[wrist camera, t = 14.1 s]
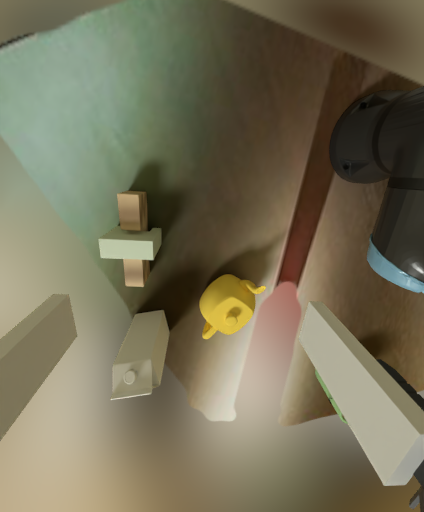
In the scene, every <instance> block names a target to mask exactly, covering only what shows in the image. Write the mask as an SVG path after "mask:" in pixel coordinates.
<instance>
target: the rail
mask: <svg viewBox="0 0 424 512" xmlns="http://www.w3.org/2000/svg"><path fill="white" fill-rule="evenodd" d="M117 195H118V206H119V217H120V228H121V229H123V230H129V231H148V217H147V194H146V192H143V191H125V192H122V193H118V194H117ZM123 260H124V271H125V282H126V286H140V287H144V285H145V283H146V280H147V278H148V276H149V274H150V264H149V260H139V259H123Z"/></svg>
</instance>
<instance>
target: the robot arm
mask: <svg viewBox="0 0 424 512" xmlns="http://www.w3.org/2000/svg"><path fill="white" fill-rule="evenodd" d="M329 152H330V160H331V163H332V166H333V168H334V170H335V171H336V173H337V174H338V175H339V176H340V177H341V178H343V179H344V180H346V181H349V182H352V183H362V184H367V183H374V182H378V181H381V180H384V179H387V178H390V179H389V182H388V186H387V188H386V191H385V194H384V198H383V201H382V204H381V207H380V210H379V213H378V217H377V220H376V223H375V226H374V229H373V233H372V234H371V235H370V239H369V240H370V245H369V249H368V252H367V260H368V262H369V263H370V266H371V267H372V268H373V269H374V271H376V272H377V273H378V274H379V275H381V276H382V277H384V278H385V279H387V280H389V281H391V282H392V283H394V284H396V285H399V286H401V287H403V288H406V289H408V290H411V291H414V292H417V293H419V292H423V293H424V86H423V87H420V88H417V89H415V90H412V91H403V90H383V91H378V92H375V93H372V94H370V95H368V96H366V97H363V98H361V99H359V100H358V101H356V102H355V103H354V104H352V105H351V106H350V107H349V108H348V109H347V110H346V111H345V112H344V113H343V115H342V116H341V117H340V119H339V120H338V122H337V124H336V126H335V128H334V130H333V133H332V136H331V140H330V150H329ZM76 337H77V332H76V327H75V323H74V318H73V313H72V309H71V303H70V298H69V295H65V294H53V295H52V296H51V297H49V298H48V299H47V300H46V301H45V302H43V303H42V304H41V305H40V306H39V307H38V308H37V309H35V310H34V311H33V312H32V313H31V314H30V315H28V316H27V317H26V318H25V319H24V320H22V321H21V322H20V323H19V324H18V325H17V326H15V327H14V328H13V329H12V330H11V331H10V332H8V333H7V334H6V335H5V336H4V337H2V338H1V339H0V441H1V439H2V438H3V436H4V435H5V434H6V432H7V431H8V430H9V428H10V427H11V426H12V424H13V423H14V422H15V420H16V419H17V417H18V416H19V415H20V413H21V412H22V410H23V409H24V408H25V407H26V405H27V404H28V402H29V401H30V400H31V398H32V397H33V396H34V394H35V393H36V392H37V390H38V389H39V387H40V386H41V385H42V383H43V382H44V381H45V379H46V378H47V377H48V375H49V374H50V372H51V371H52V370H53V368H54V367H55V366H56V364H57V363H58V362H59V360H60V359H61V358H62V356H63V355H64V353H65V352H66V351H67V349H68V348H69V347H70V345H71V344H72V343H73V341H74V340H75V338H76ZM299 341H300V343H301V344H302V346H303V348H304V349H305V351H306V353H307V354H308V356H309V358H310V360H311V361H312V363H313V365H314V366H315V368H316V370H317V372H318V373H319V375H320V377H321V378H322V380H323V382H324V383H325V385H326V387H327V389H328V390H329V392H330V394H331V395H332V397H333V399H334V401H335V402H336V404H337V406H338V407H339V409H340V411H341V413H342V414H343V416H344V418H345V419H346V421H347V423H348V424H349V426H350V428H351V430H352V431H353V433H354V435H355V436H356V438H357V440H358V442H359V443H360V445H361V447H362V448H363V450H364V452H365V454H366V455H367V457H368V459H369V460H370V462H371V464H372V465H373V467H374V469H375V471H376V472H377V474H378V476H379V477H380V479H381V481H382V482H383V484H384V485H385V486H389V485H406V484H407V482H408V481H409V480H410V479H411V477H412V476H413V475H414V476H415V477H416V479H417V480H418V481H419V483H420V484H421V487H420V488H419V490H418V491H417V492H416V493H415V494H414V496H413V497H412V498H411V499H410V504H409V507H411V508H412V509H414V508H415V507H416V506H417V505H418V503H419V502H420V509H421V512H424V399H423V398H422V397H421V396H420V395H419V394H417V392H416V390H415V389H414V388H413V387H412V386H411V385H410V384H407V381H406V380H405V379H404V378H403V377H402V376H401V375H400V374H399V373H398V372H397V371H396V370H395V369H393V368H392V367H391V366H389V365H388V364H386V363H385V362H384V361H382V360H376V359H375V358H374V357H373V356H372V355H371V354H370V353H369V352H368V351H367V350H366V349H365V348H364V347H363V346H362V344H361V343H360V342H359V341H358V340H357V339H356V338H355V337H354V336H353V335H352V334H351V333H350V332H349V330H348V329H347V328H346V327H345V326H344V325H343V324H342V323H341V322H340V321H339V320H338V319H337V318H336V316H335V315H334V314H333V313H332V312H331V311H330V310H329V309H328V308H327V307H326V306H325V305H324V304H323V302H312V301H309V303H308V307H307V311H306V314H305V318H304V321H303V325H302V328H301V332H300V336H299Z"/></svg>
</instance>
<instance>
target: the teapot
mask: <svg viewBox="0 0 424 512" xmlns="http://www.w3.org/2000/svg"><path fill="white" fill-rule="evenodd" d="M265 288H266V287H265V286H261V287H256V286H255V284H254V283H253V282H251V281H249V280H240V279H239V278H237V277H235V276H234V275H231V274H225V275H223V276H221V277H219V278H217V279H216V280H215V281H213V282H212V283H211V284H210V285H209V286H208V287H207V288H206V290H205V291H204V293H203V294H202V296H201V299H200V302H199V303H200V310H201V313H202V315H203V316H204V318H205V319H206V324H205V326H204V329H203V333H202V336H203V338H204V339H208V338H210V337H211V336H212V335H213V334H214V333H215V332H216V331H217V330H219V331H220V332H222V333H224V334H227V335H230V334H233V333H235V332H236V331H238V330H239V329H241V328H242V327H243V326H244V325H245V324H246V323H247V322H248V321H249V320H250V318H251V317H252V315H253V313H254V309H255V295H254V294H259V293H261V292H263V291H264V290H265ZM211 326H212V327H211Z"/></svg>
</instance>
